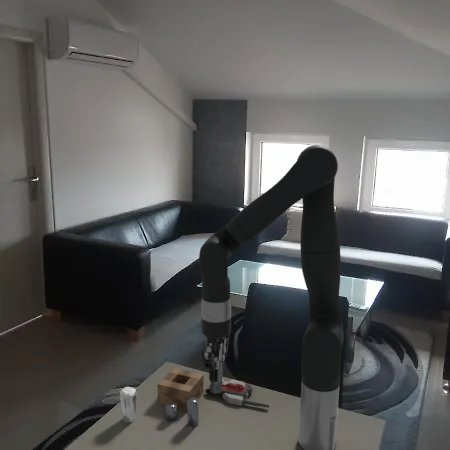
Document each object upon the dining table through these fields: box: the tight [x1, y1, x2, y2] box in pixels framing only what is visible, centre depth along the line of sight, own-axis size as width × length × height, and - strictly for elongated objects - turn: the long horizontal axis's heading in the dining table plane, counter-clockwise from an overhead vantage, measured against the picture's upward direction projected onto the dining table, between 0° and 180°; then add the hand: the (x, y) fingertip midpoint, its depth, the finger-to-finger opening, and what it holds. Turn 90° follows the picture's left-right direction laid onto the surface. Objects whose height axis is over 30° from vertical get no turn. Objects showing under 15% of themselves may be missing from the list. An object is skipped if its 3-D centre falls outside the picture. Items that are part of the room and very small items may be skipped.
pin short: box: [165, 402, 178, 423], centre depth 133 cm, size 3×3×4 cm
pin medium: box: [186, 398, 200, 428], centre depth 131 cm, size 3×3×7 cm
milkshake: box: [119, 386, 138, 424], centre depth 132 cm, size 4×5×10 cm
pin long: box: [209, 349, 223, 393], centre depth 125 cm, size 3×3×12 cm
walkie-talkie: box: [204, 378, 270, 408], centre depth 144 cm, size 9×4×20 cm
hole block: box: [157, 367, 205, 411], centre depth 143 cm, size 10×10×6 cm
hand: (216, 377), depth 126 cm, fingers closed on pin long, 3 cm apart
